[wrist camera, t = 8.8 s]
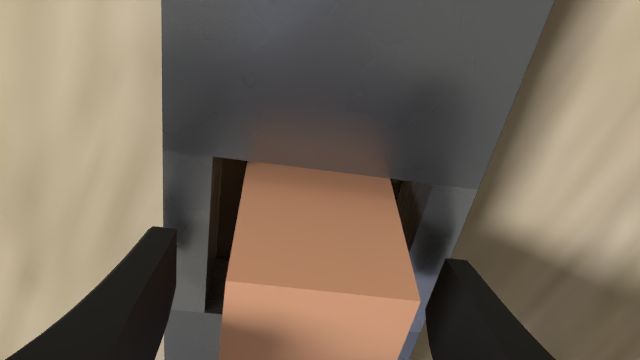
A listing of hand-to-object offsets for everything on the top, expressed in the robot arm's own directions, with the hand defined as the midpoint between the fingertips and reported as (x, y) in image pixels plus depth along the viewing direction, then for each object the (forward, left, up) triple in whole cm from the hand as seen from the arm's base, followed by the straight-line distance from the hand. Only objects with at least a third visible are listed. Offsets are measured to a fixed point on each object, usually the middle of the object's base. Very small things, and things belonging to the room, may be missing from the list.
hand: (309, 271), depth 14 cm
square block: (0, 0, -3) cm, 3 cm away
